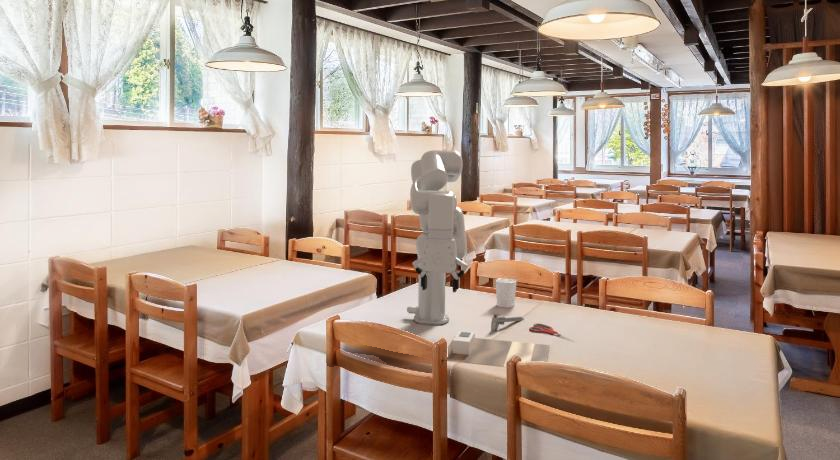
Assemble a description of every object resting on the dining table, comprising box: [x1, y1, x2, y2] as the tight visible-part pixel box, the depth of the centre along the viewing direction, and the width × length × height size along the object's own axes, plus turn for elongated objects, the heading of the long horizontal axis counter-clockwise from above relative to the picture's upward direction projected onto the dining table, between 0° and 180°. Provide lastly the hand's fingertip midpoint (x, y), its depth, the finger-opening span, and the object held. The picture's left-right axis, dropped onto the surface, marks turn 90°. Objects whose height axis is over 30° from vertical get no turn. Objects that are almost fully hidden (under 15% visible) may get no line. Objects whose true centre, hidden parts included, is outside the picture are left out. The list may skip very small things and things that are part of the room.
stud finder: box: [452, 330, 476, 355], centre depth 178 cm, size 5×9×4 cm, turn 165°
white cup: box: [495, 278, 517, 309], centre depth 228 cm, size 8×8×10 cm
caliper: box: [490, 313, 524, 332], centre depth 204 cm, size 20×1×6 cm, turn 141°
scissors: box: [528, 323, 577, 344], centre depth 195 cm, size 8×21×2 cm, turn 44°
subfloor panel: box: [446, 336, 550, 368], centre depth 176 cm, size 30×22×1 cm
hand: (439, 290), depth 178 cm, fingers open, 9 cm apart
